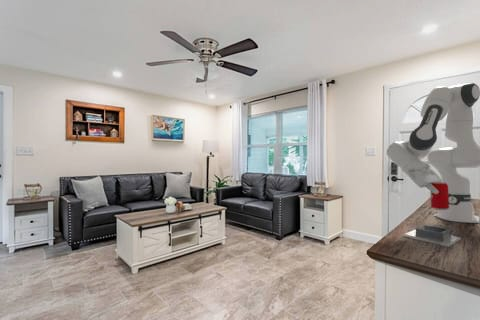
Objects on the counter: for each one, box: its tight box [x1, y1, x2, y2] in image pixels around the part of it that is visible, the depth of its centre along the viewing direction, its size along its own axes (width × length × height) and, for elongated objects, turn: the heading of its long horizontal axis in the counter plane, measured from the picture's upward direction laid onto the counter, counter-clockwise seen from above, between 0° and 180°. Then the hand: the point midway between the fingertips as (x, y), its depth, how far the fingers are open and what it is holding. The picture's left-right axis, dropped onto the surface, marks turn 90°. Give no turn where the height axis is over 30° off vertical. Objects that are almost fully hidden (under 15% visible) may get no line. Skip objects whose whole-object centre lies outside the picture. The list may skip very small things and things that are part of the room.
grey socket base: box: [403, 224, 461, 248], centre depth 102 cm, size 14×15×4 cm
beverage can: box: [429, 181, 449, 211], centre depth 110 cm, size 6×6×12 cm
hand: (441, 192), depth 109 cm, fingers closed on beverage can, 6 cm apart
